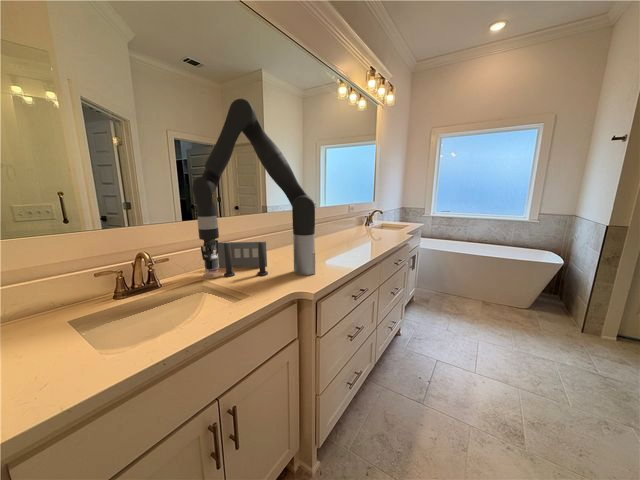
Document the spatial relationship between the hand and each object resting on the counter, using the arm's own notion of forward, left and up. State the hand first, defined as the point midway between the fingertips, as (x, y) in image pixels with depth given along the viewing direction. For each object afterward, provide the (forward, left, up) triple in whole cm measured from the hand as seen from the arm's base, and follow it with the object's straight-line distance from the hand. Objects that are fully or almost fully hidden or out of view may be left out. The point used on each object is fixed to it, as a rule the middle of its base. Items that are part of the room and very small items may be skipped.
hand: (211, 266), depth 107 cm
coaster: (0, 0, -4) cm, 4 cm away
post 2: (-21, 0, -4) cm, 21 cm away
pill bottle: (0, 0, -2) cm, 2 cm away
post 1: (-7, 0, -4) cm, 8 cm away
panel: (-10, -11, -4) cm, 16 cm away
